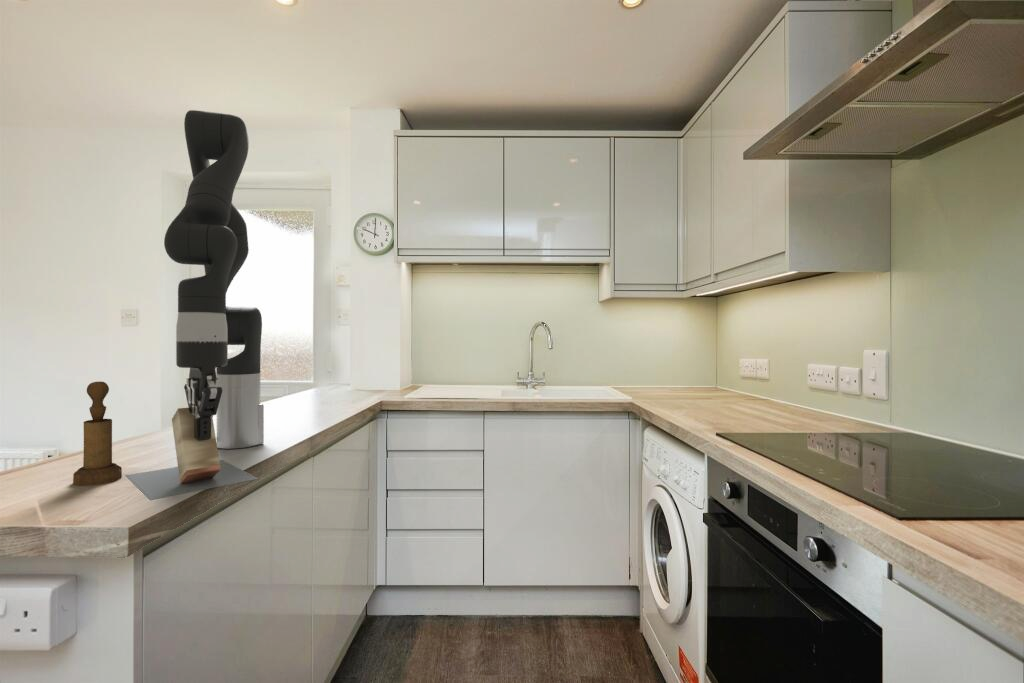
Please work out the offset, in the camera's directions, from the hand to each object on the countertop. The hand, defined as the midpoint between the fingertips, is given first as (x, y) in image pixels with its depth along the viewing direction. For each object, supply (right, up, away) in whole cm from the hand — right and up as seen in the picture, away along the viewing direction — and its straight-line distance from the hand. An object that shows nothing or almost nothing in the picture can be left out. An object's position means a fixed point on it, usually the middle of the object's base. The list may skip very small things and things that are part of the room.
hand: (202, 439), depth 85 cm
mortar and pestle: (-20, -8, +2) cm, 22 cm away
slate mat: (-5, -8, +4) cm, 10 cm away
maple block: (-1, -6, 0) cm, 7 cm away
